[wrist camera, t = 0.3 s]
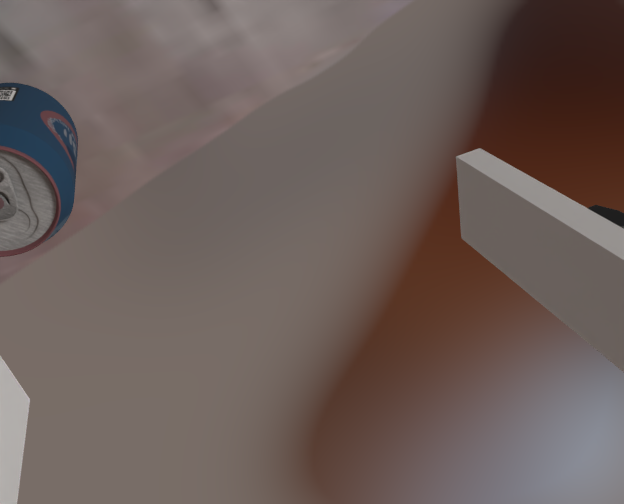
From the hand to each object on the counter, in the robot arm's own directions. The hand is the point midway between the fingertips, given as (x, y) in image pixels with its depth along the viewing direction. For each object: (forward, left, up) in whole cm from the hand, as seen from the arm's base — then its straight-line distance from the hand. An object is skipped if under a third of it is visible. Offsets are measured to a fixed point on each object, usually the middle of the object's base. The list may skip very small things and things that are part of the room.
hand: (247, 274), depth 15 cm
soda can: (+1, -9, -28) cm, 29 cm away
